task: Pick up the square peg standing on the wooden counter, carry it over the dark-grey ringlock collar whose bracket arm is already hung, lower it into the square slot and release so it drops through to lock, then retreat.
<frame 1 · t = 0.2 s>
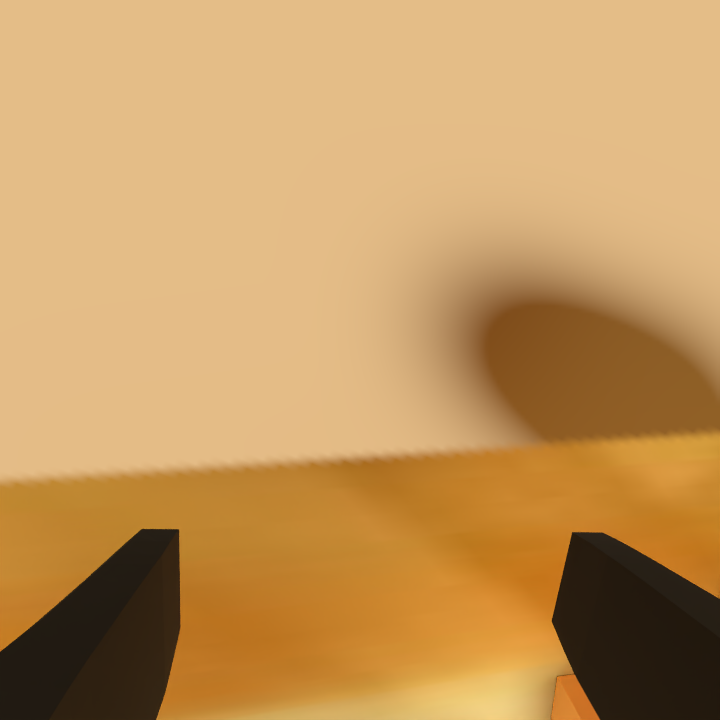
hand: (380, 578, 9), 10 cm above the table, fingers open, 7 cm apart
square peg: (584, 698, 24), on the table
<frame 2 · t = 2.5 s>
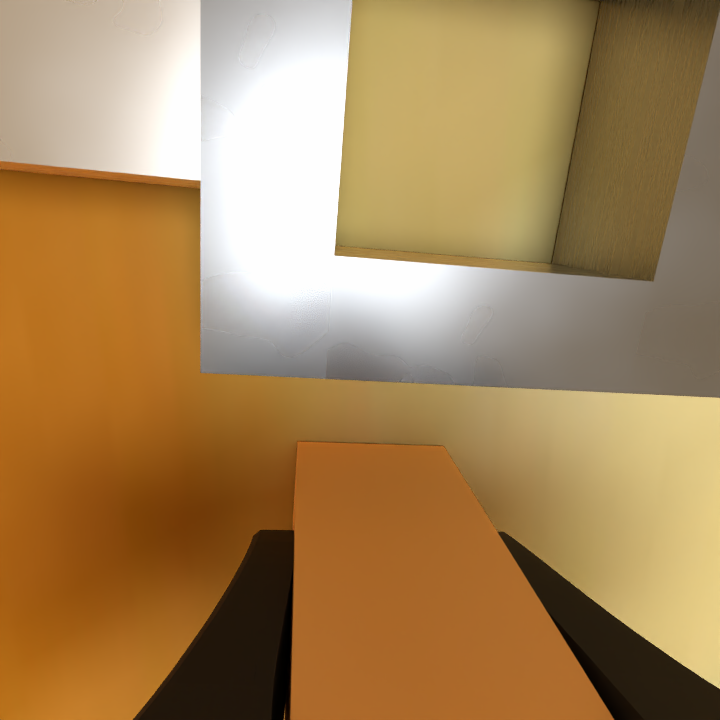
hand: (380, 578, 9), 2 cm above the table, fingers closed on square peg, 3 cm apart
square peg: (365, 508, 11), on the table, touching gripper
bracket: (458, 127, 9), on the table
when the fingers open (4 cm above the table, at t = 5.4 s): square peg drops 1 cm, resting in bracket.
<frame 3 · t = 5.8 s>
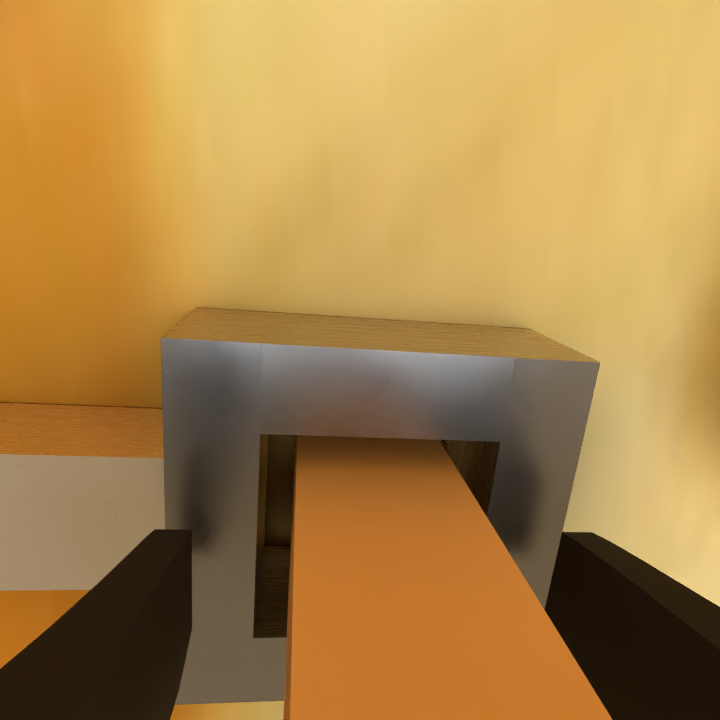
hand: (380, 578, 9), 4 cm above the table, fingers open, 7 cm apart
square peg: (356, 469, 13), resting in bracket
bracket: (357, 470, 13), on the table
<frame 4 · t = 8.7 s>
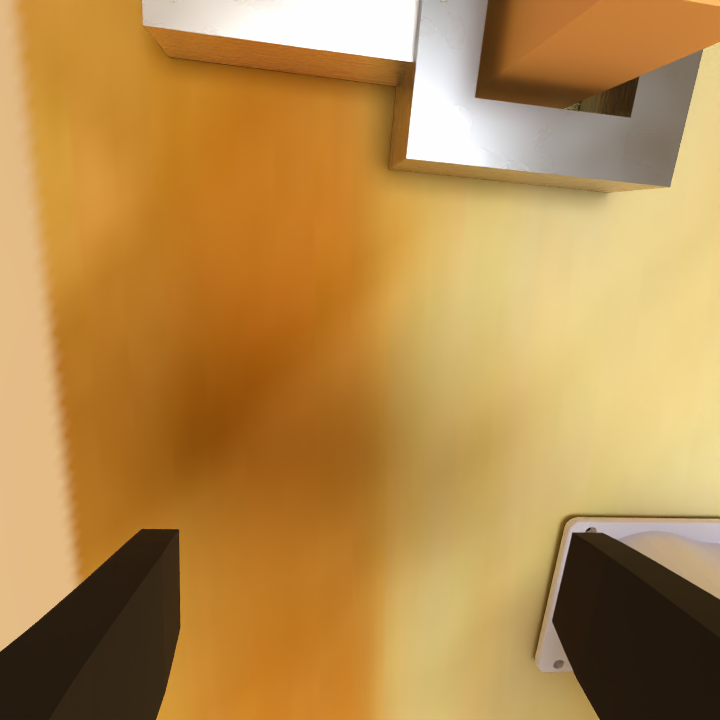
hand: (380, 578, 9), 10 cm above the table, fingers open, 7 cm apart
square peg: (521, 50, 16), resting in bracket
bracket: (522, 50, 16), on the table
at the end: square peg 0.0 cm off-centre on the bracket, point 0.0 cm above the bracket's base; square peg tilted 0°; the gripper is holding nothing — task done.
